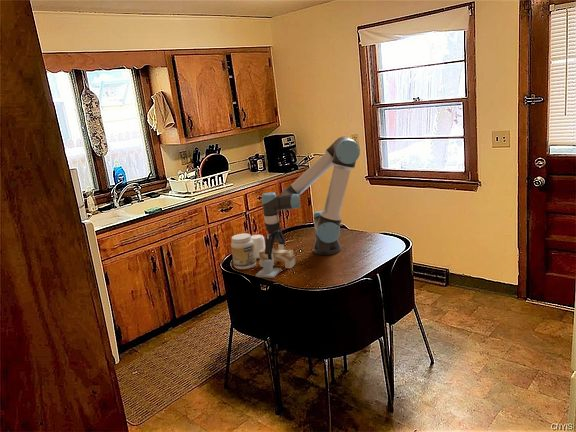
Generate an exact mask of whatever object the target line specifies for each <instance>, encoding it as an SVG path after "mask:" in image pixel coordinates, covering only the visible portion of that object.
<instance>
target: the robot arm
mask: <svg viewBox="0 0 576 432" xmlns="http://www.w3.org/2000/svg"><path fill="white" fill-rule="evenodd" d="M360 150H361V149H360V146H359V143H358V142H357V141H356V140H354V139H352V138H351V137H349V136H341V137H338V138H337V139H335V141H334V142H333V143H331V145H329V147H327V149H325V151H324V152H325V153H324V154H322V156H320V157H319V158H318V160H316V161H315V162H314V163H313V164H312V165H311V166H310V167H308V169H306V170H305V171H304V172H303V173H302V174H300V176H299V177H297V178H296V179H295V181H293V182H292V183H291V184H290V185H289V186H287V187H286V188H284V189H283V190H282V192H281V193H280V194H281V195H277V193H276V192H274V191H272V192H270V191H269V192H265V193H263V194H262V195H261V205H262V211H263V218H264V226H265V230H266V231H267V232H268V234H266V235H265V254H268V260H272V264H273V267H274V266H275V261H274V259H273V253H272V249H274V243H275V242H276V241H277V243H278V244H277V245H278V247H277V248H278V250H285V249H284V248H285V247H284V246H285V245H284V244H286V239H285V237H284V234H283V231H282V228H281V226H280V225H281V224H280V217H279V211H287V210H296V209H299V208H301V199H300V198H301V197H300V196H301V195H302V194H303V193H304V192H305V191H306V190H308V189H309V188H310V186H311V187H312V185H313V184H314V183H315V182H316V181H317V180H319V178H321V177H322V176H323V175H324V174H326V172H328V171H329V169H331V168H332V167H333V169H332V174H331V178H330V182H329V186H328V190H327V195H326V198H325V203H324V207H323V210H317V211H315V212H313V216H312V217H313V218H312V219H313V224H314V234H315V241H314V245H313V252H314V253H315V254H316V255H320V256H329V255H334V254H337V253H339V252H340V251H342V246H341V243H340V241H339V237H340V235H341V229H340V228H341V223H342V216H341V211H342V206H343V203H344V200H345V199H344V198H345V195H346V190H347V187H348V182H349V179H350V174H351V171H352V170H353V169H355V167H356V164H357V160H358V159H359V157H360V153H361V151H360Z"/></svg>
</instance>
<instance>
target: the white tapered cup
mask: <svg viewBox="0 0 576 432" xmlns="http://www.w3.org/2000/svg"><path fill="white" fill-rule="evenodd" d="M251 239H252V240H253V242H254V250H255V257H256V259H260V257H259V251H261V250H262V249H265V245H266V239H265V236H264V235H263V234H253V235H251Z"/></svg>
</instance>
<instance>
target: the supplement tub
mask: <svg viewBox="0 0 576 432" xmlns="http://www.w3.org/2000/svg"><path fill="white" fill-rule="evenodd" d="M251 236H252V235H251V234H250V233H238V234H234V235H232V236H231V242H230V247H231V248H230V249H231V253H232V260H233V266H234V268H235V269H238V270H247V269H252V268H253V267H255V266H256V265H257V258H256V257H255V250H254V242H253V240H252V239H251Z"/></svg>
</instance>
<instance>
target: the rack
mask: <svg viewBox="0 0 576 432" xmlns="http://www.w3.org/2000/svg"><path fill="white" fill-rule="evenodd" d="M258 261H259V267H260V268H263V263H262V261H264V260H260V259H259V260H258ZM295 265H296V257H295V256H294V259H293V260H292V261H284V266H285V269H292V268H293V267H294V266H295Z"/></svg>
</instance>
